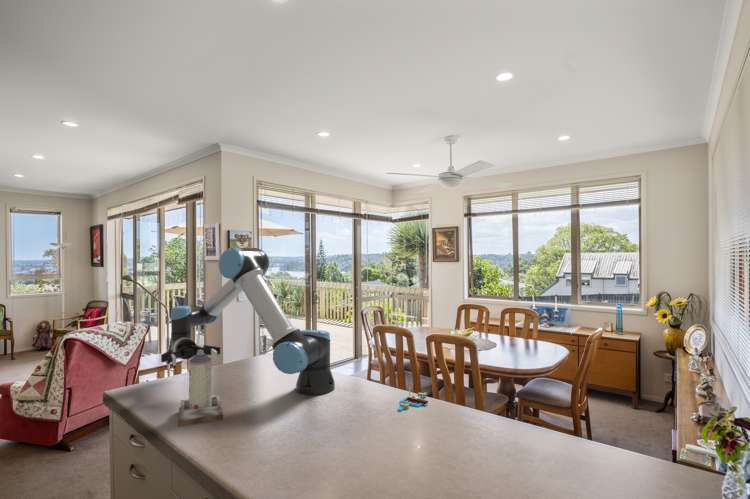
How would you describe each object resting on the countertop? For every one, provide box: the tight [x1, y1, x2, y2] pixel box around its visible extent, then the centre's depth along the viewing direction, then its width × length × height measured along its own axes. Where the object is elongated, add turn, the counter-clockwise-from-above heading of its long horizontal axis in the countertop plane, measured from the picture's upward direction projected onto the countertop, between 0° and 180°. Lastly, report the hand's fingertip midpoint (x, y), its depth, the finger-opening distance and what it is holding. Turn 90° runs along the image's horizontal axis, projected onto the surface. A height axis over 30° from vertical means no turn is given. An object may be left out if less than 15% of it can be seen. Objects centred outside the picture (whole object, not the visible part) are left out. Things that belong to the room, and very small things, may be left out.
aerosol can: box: [188, 350, 213, 410], centre depth 133 cm, size 7×7×20 cm
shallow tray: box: [177, 394, 224, 427], centre depth 133 cm, size 13×13×4 cm
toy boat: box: [396, 387, 429, 412], centre depth 144 cm, size 20×5×9 cm
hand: (196, 358), depth 143 cm, fingers open, 13 cm apart
